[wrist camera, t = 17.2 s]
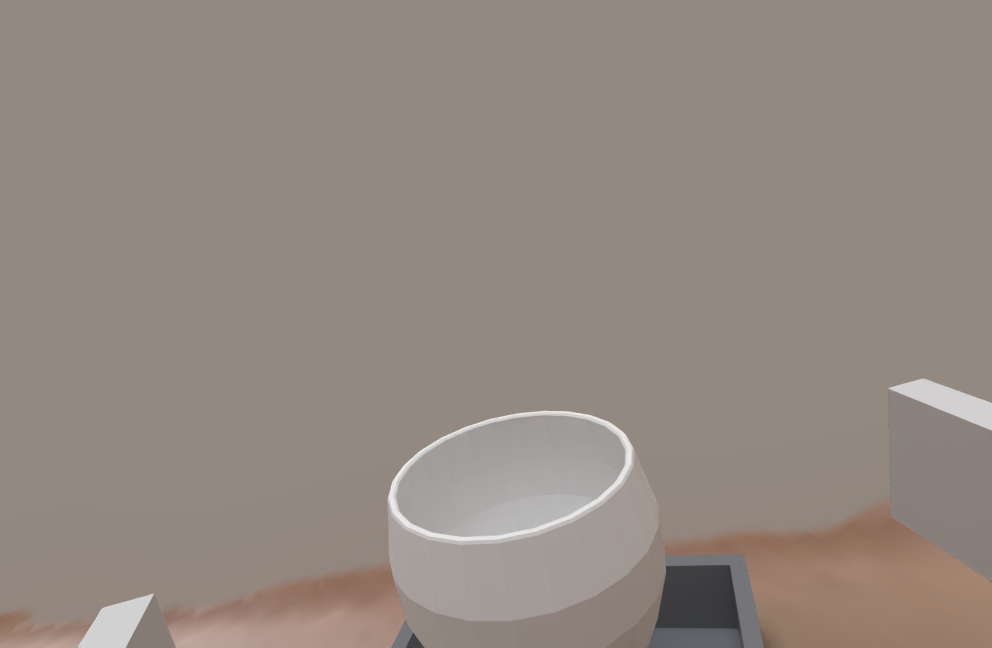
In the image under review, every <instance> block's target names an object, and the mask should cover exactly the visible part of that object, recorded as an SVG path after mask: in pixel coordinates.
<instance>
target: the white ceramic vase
mask: <svg viewBox="0 0 992 648" xmlns="http://www.w3.org/2000/svg"><path fill="white" fill-rule="evenodd" d="M388 527H389V528H388V529H389V559H390V564H391V569H392V573H393V578H394V582H395V585H396V588H397V592H398V595H399V598H400V602H401V605H402V608H403V611H404V615H405V618H406V621H407V625H408V626H409V627H410V629H411V630H412V631H413V633H414V634H415V636H416V637H417V638H418V640H419V641H420V642H421V644H422V645H423V647H424V648H647V647H648V645H649V643H650V640H651V637H652V634H653V631H654V628H655V625H656V622H657V619H658V614H659V609H660V603H661V598H662V592H663V586H664V581H665V575H666V562H665V547H664V540H663V534H662V528H661V521H660V514H659V508H658V503H657V501H656V499H655V496H654V494H653V492H652V489H651V487H650V485H649V482H648V480H647V478H646V476H645V473H644V471H643V469H642V467H641V464H640V463H639V460H638V457H637V455H636V453H635V451H634V448H633V447H632V445H631V443H630V441H629V440H628V438H627V436H626V435H625V433H623V432H622V431H621V430H619V429H618V428H617V427H615V426H614V425H612V424H611V423H610V422H607V421H605V420H602V419H599V418H597V417H594V416H591V415H586V414H580V413H574V412H567V411H566V412H565V411H538V412H529V413H518V414H512V415H508V416H503V417H498V418H493V419H489V420H486V421H483V422H480V423H477V424H474V425H470V426H467V427H464V428H462V429H460V430H458V431H456V432H453V433H451V434H449V435H447V436H444V437H442V438H440V439H439V440H437V441H436V442H434V443H432V444H431V445H429V446H427V447H426V448H424V449H423V450H421V451H420V452H419V453H417V454H416V455H415V456H414V457H413V458H412V459H411V460H409V461H408V462H407V463H406V464H405V465H404V466H403V468H402V469H401V470H400V472H399V473H398V475H397V476H396V477H395V479H394V480H393V482H392V486H391V490H390V493H389V497H388Z"/></svg>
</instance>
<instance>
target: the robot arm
mask: <svg viewBox="0 0 992 648" xmlns="http://www.w3.org/2000/svg"><path fill="white" fill-rule="evenodd" d="M888 423H889V424H888V426H889V472H890V474H889V476H890V516H891V517H892V518H894V519H895V520H897V521H899V522H900V523H902V524H903V525H905V526H906V527H908V528H909V529H911V530H912V531H914V532H915V533H917V534H919V535H920V536H922V537H923V538H925V539H926V540H928V541H929V542H931V543H932V544H934V545H935V546H937V547H939V548H940V549H942V550H943V551H945V552H946V553H948V554H949V555H951V556H952V557H954V558H955V559H957V560H959V561H960V562H962V563H963V564H965V565H966V566H968V567H969V568H971V569H972V570H974V571H975V572H977V573H979V574H980V575H982V576H983V577H985V578H986V579H988V580H989V581H991V582H992V403H990V402H987V401H984V400H982V399H979V398H976V397H973V396H970V395H968V394H965V393H962V392H959V391H957V390H954V389H951V388H948V387H946V386H943V385H940V384H937V383H935V382H932V381H929V380H926V379H920V380H916V381H912V382H909V383H905V384H902V385H898V386H894V387H891V388H888ZM78 648H176V647H175V644H174V642H173V639H172V637H171V634H170V632H169V629H168V627H167V624H166V622H165V619H164V617H163V614H162V612H161V609H160V607H159V604H158V602H157V599H156V597H155V595H154V594H151V595H148V596H144V597H140V598H137V599H133V600H129V601H126V602H123V603H119V604H115V605H112V606H108V607H105V608H102V610H101V611H100V613H99V614H98V616H97V618H96V619H95V621H94V622H93V624H92V625H91V627H90V629H89V630H88V632H87V633H86V635H85V637H84V638H83V640H82V641H81V643H80V644H79V646H78Z"/></svg>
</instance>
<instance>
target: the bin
mask: <svg viewBox="0 0 992 648" xmlns="http://www.w3.org/2000/svg"><path fill="white" fill-rule="evenodd" d="M665 562H666V575H665V581H664V586H663V592H662V598H661V603H660V609H659V614H658V619H657V622H656V625H655V628H654V631H653V634H652V637H651V640H650V643H649V645H648V647H647V648H764V645H763V641H762V636H761V631H760V627H759V622H758V617H757V612H756V608H755V603H754V598H753V594H752V589H751V584H750V580H749V575H748V570H747V565H746V561H745V556H744V555H699V556H665ZM392 648H424V647H423V645H422V644H421V642H420V641H419V640H418V638H417V637H416V636H415V634H414V633H413V631H412V630H411V629H410V627H409V626H408V625H407V621H406V620H405V622H404V624H403V626H402V628H401V630H400V632H399V634H398V636H397V638H396V640H395V642H394V644H393V646H392Z"/></svg>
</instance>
